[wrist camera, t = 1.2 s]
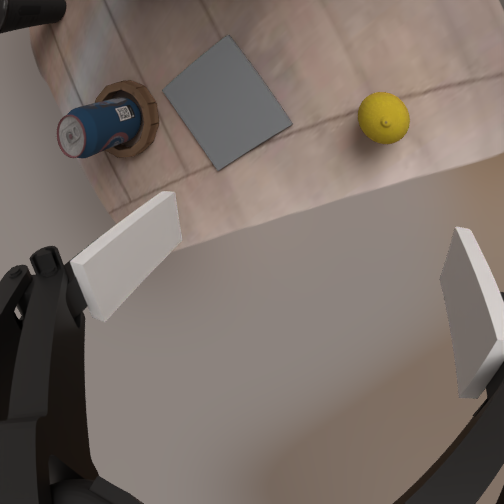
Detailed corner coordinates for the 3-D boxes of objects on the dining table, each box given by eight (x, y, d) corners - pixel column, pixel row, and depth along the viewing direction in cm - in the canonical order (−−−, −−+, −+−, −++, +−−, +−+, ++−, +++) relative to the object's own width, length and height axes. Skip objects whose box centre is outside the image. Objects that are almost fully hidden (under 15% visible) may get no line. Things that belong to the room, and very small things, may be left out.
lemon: (369, 82, 31) (371, 83, 24) (412, 105, 30) (424, 112, 24) (350, 123, 34) (347, 133, 28) (392, 145, 34) (399, 161, 27)
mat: (164, 89, 39) (161, 90, 39) (229, 35, 33) (227, 34, 32) (219, 169, 43) (217, 171, 42) (292, 123, 36) (291, 124, 36)
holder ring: (91, 113, 45) (82, 115, 43) (131, 66, 38) (122, 66, 37) (126, 167, 48) (118, 171, 46) (172, 124, 41) (164, 127, 40)
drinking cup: (64, -16, 32) (-31, -14, 16) (75, 9, 35) (-26, 16, 19) (42, 11, 36) (-48, 23, 20) (52, 37, 39) (-42, 53, 23)
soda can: (121, 146, 46) (66, 170, 36) (105, 108, 43) (48, 125, 34) (152, 128, 43) (95, 149, 33) (135, 88, 40) (74, 100, 30)
